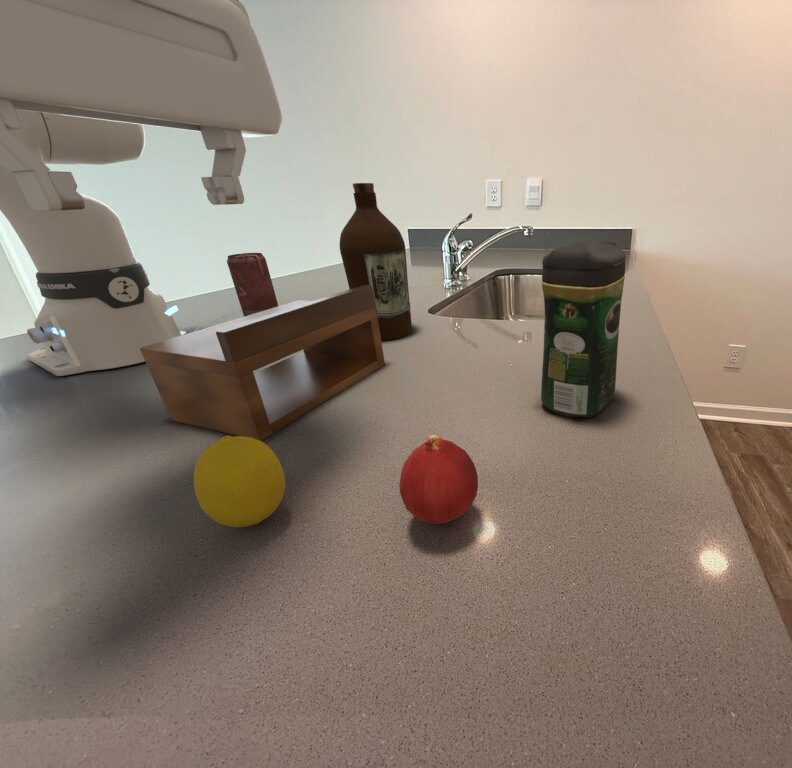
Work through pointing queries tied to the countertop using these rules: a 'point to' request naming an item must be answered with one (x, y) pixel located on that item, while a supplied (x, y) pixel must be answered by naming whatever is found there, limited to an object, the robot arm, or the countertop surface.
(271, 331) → the shelf
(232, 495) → the lemon
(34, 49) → the robot arm
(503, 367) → the countertop surface
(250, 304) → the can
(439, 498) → the onion
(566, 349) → the coffee jar
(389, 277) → the olive oil
